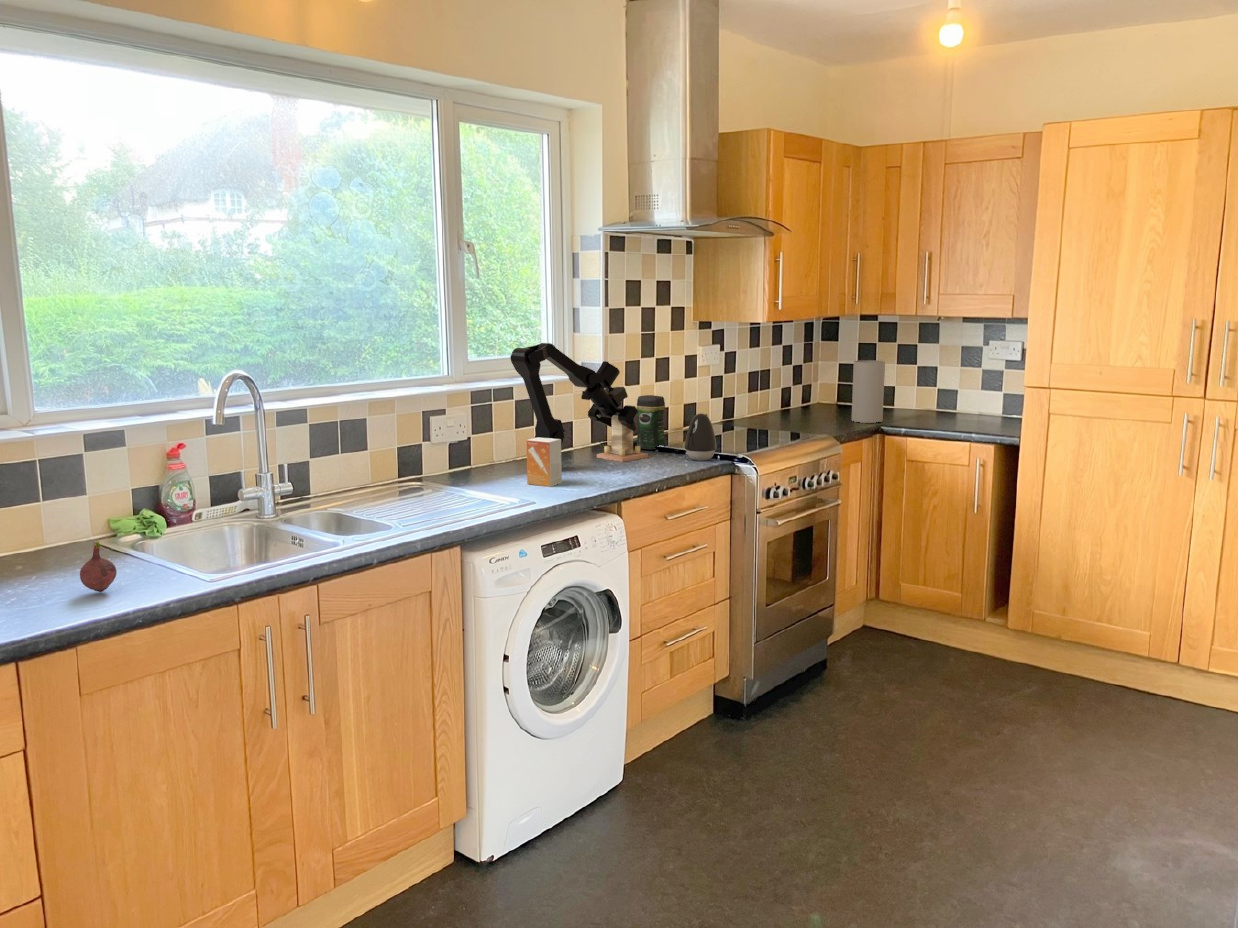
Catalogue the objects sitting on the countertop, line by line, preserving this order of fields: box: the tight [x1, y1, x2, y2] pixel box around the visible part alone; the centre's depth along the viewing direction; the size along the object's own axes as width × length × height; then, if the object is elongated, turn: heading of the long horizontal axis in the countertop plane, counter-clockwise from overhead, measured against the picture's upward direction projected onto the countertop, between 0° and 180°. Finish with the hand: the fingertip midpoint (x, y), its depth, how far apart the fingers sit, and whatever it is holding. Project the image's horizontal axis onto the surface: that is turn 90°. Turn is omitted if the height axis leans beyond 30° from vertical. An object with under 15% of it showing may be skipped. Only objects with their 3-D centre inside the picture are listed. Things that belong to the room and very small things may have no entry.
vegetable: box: [79, 540, 118, 593], centre depth 180 cm, size 6×6×10 cm
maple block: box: [611, 415, 634, 455], centre depth 321 cm, size 5×5×13 cm
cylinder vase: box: [851, 359, 886, 424], centre depth 401 cm, size 12×12×25 cm
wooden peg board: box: [596, 445, 649, 463], centre depth 322 cm, size 12×12×4 cm
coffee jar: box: [636, 394, 666, 450], centre depth 339 cm, size 10×8×19 cm
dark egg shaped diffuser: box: [684, 412, 717, 462], centre depth 316 cm, size 10×10×15 cm
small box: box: [526, 437, 563, 488], centre depth 279 cm, size 8×6×13 cm
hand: (625, 428), depth 321 cm, fingers open, 9 cm apart
